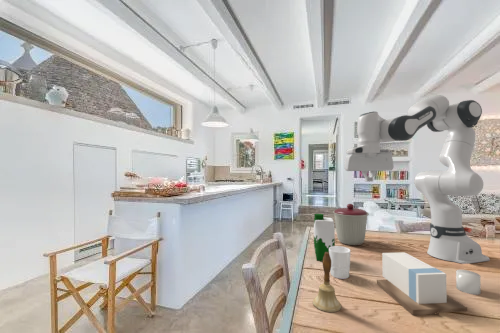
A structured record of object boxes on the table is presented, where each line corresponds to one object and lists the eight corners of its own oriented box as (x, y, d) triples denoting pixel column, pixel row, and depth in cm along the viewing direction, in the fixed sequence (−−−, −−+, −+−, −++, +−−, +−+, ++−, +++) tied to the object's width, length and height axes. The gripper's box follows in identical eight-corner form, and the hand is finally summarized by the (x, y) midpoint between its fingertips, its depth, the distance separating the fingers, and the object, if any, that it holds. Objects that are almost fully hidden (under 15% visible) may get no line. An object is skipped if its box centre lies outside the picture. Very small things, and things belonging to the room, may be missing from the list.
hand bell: (333, 296, 79) (332, 247, 79) (346, 311, 71) (345, 256, 71) (308, 298, 78) (308, 248, 78) (319, 313, 70) (318, 258, 70)
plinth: (420, 282, 87) (420, 278, 87) (467, 312, 69) (467, 307, 69) (376, 284, 87) (376, 279, 87) (412, 315, 69) (412, 309, 69)
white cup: (348, 281, 89) (348, 254, 89) (326, 276, 93) (326, 250, 93) (352, 273, 95) (352, 247, 95) (331, 269, 100) (331, 244, 99)
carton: (404, 252, 90) (446, 273, 72) (405, 275, 90) (446, 302, 72) (382, 252, 89) (418, 274, 71) (382, 276, 89) (418, 304, 71)
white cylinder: (468, 286, 84) (468, 269, 84) (485, 296, 78) (485, 277, 78) (451, 287, 84) (451, 269, 84) (467, 296, 78) (467, 277, 78)
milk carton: (313, 254, 116) (313, 212, 116) (333, 255, 114) (332, 212, 114) (314, 261, 108) (314, 216, 108) (336, 262, 106) (335, 216, 106)
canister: (346, 249, 122) (345, 207, 122) (326, 238, 140) (326, 202, 140) (377, 246, 126) (376, 205, 126) (354, 236, 144) (353, 200, 144)
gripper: (387, 149, 109) (387, 180, 109) (342, 150, 108) (343, 181, 108) (396, 148, 103) (397, 181, 103) (349, 149, 102) (349, 182, 102)
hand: (369, 181), depth 106 cm, fingers closed
